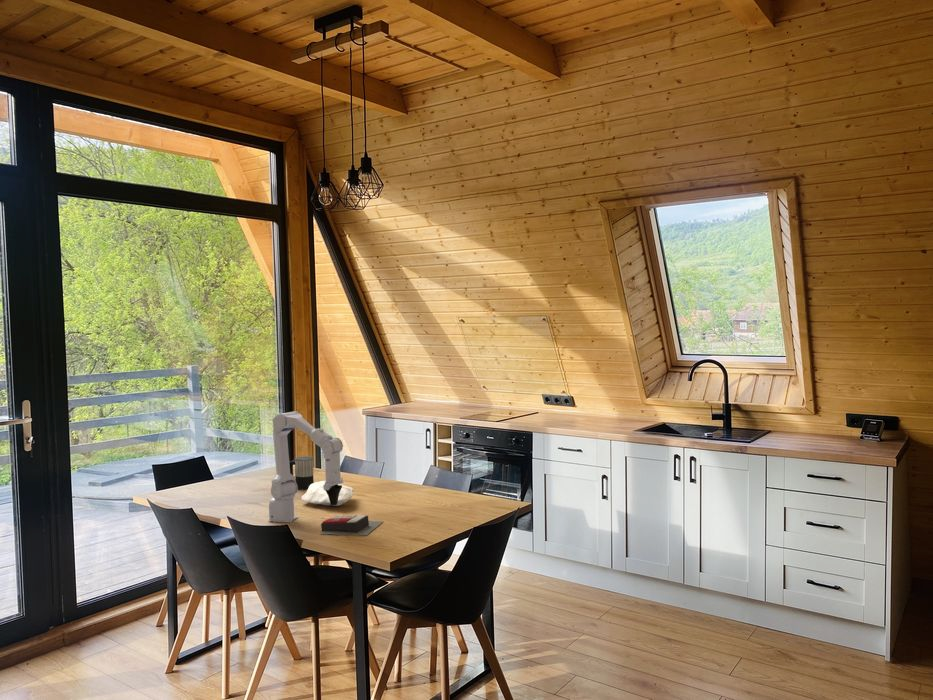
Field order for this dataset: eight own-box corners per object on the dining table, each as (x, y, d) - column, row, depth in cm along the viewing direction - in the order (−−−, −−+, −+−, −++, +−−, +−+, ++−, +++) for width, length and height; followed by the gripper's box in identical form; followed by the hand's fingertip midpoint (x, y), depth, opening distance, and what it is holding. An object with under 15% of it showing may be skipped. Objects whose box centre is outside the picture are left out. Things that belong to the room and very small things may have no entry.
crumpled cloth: (339, 489, 350) (336, 471, 349) (375, 502, 322) (371, 481, 321) (293, 505, 337) (289, 486, 336) (326, 519, 309) (322, 498, 308)
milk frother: (316, 485, 368) (315, 456, 368) (309, 492, 352) (308, 461, 352) (288, 486, 368) (287, 456, 368) (279, 493, 353) (278, 462, 352)
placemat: (320, 534, 278) (320, 533, 278) (340, 520, 298) (340, 520, 298) (366, 536, 274) (366, 535, 274) (383, 522, 294) (383, 521, 294)
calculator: (333, 514, 293) (368, 513, 288) (334, 525, 293) (369, 524, 288) (320, 521, 282) (355, 520, 278) (321, 532, 282) (356, 532, 278)
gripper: (335, 473, 279) (336, 509, 279) (349, 466, 293) (350, 500, 294) (317, 473, 281) (319, 509, 281) (332, 466, 295) (333, 500, 295)
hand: (333, 504), depth 287 cm, fingers closed
